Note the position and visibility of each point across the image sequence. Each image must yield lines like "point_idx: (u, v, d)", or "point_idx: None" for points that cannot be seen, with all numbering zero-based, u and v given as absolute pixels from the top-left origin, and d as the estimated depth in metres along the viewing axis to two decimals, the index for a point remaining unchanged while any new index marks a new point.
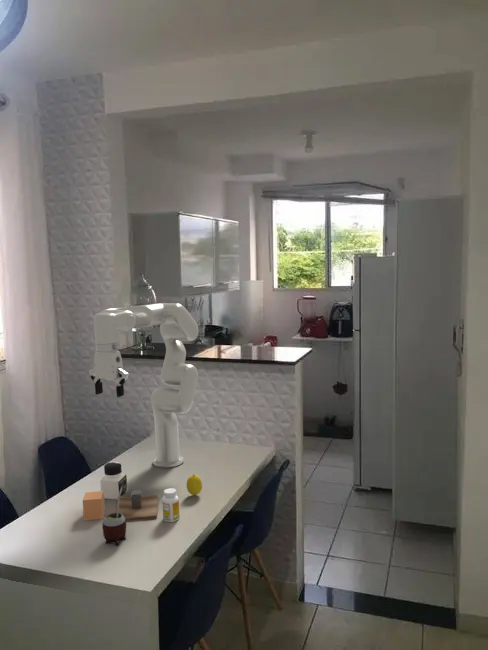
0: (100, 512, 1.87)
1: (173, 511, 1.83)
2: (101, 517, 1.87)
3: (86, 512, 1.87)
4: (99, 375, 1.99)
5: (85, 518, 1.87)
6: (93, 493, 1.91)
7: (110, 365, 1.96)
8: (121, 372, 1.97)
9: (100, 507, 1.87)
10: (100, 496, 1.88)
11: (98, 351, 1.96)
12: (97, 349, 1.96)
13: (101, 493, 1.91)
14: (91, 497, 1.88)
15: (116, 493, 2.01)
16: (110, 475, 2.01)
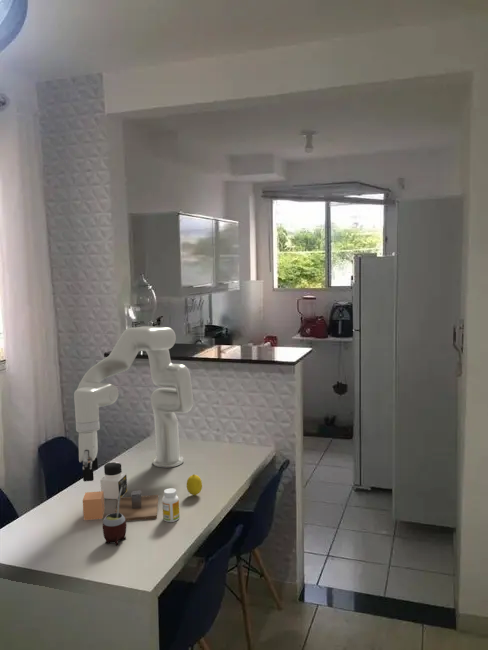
0: (100, 512, 1.87)
1: (173, 511, 1.83)
2: (101, 517, 1.87)
3: (86, 512, 1.87)
4: (95, 455, 1.85)
5: (85, 518, 1.87)
6: (93, 493, 1.91)
7: None
8: None
9: (100, 507, 1.87)
10: (100, 496, 1.88)
11: (99, 427, 1.86)
12: (98, 425, 1.85)
13: (101, 493, 1.91)
14: (91, 497, 1.88)
15: (116, 493, 2.01)
16: (110, 475, 2.01)
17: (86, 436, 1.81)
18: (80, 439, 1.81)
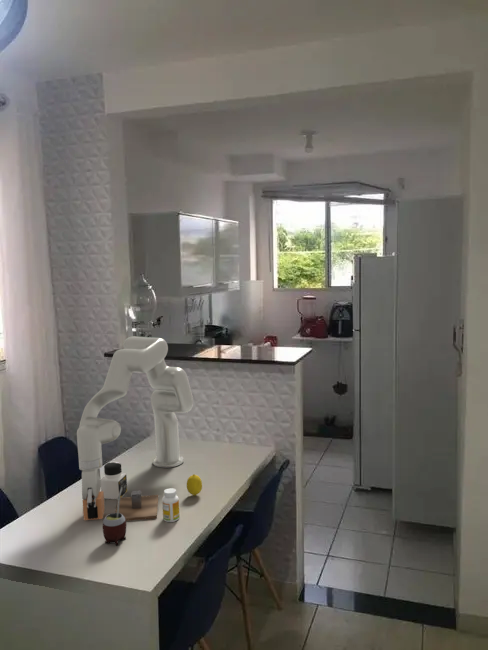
0: (100, 512, 1.87)
1: (173, 511, 1.83)
2: (101, 517, 1.87)
3: (86, 512, 1.87)
4: (98, 492, 1.87)
5: (85, 518, 1.87)
6: None
7: None
8: None
9: (100, 507, 1.87)
10: (100, 496, 1.88)
11: (101, 464, 1.88)
12: (101, 463, 1.87)
13: (101, 493, 1.91)
14: None
15: (116, 493, 2.01)
16: (110, 475, 2.01)
17: (89, 474, 1.83)
18: (83, 477, 1.83)
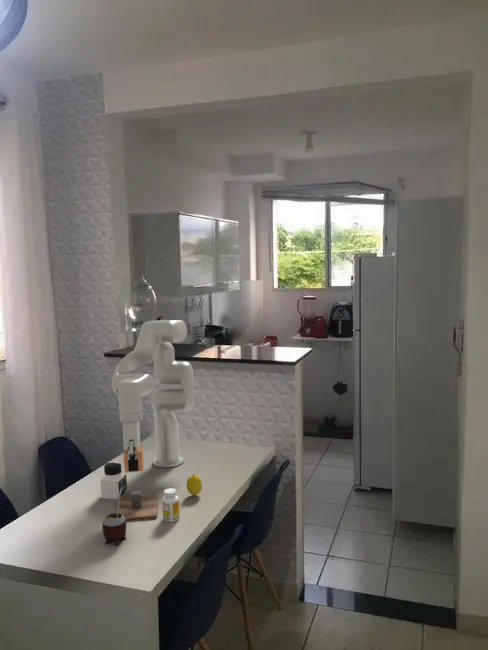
0: (140, 465, 1.89)
1: (173, 511, 1.83)
2: (141, 470, 1.89)
3: (127, 464, 1.88)
4: None
5: (126, 470, 1.88)
6: None
7: None
8: None
9: (141, 460, 1.88)
10: (140, 449, 1.90)
11: (142, 417, 1.89)
12: (141, 415, 1.88)
13: (141, 447, 1.92)
14: None
15: (116, 493, 2.01)
16: (110, 475, 2.01)
17: (131, 426, 1.85)
18: (125, 429, 1.85)
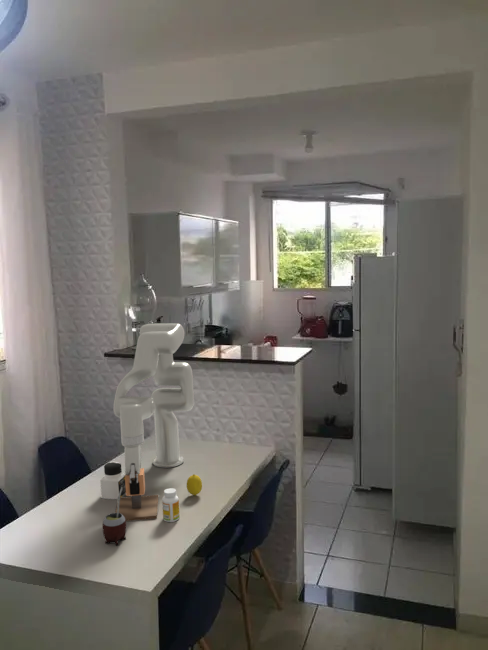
0: (142, 488, 1.90)
1: (173, 511, 1.83)
2: (143, 493, 1.90)
3: (128, 488, 1.89)
4: (140, 468, 1.89)
5: (127, 494, 1.89)
6: None
7: None
8: None
9: (142, 483, 1.89)
10: (142, 472, 1.91)
11: (143, 440, 1.90)
12: (143, 439, 1.90)
13: (142, 470, 1.93)
14: None
15: (116, 493, 2.01)
16: (110, 475, 2.01)
17: (132, 450, 1.86)
18: (126, 453, 1.86)
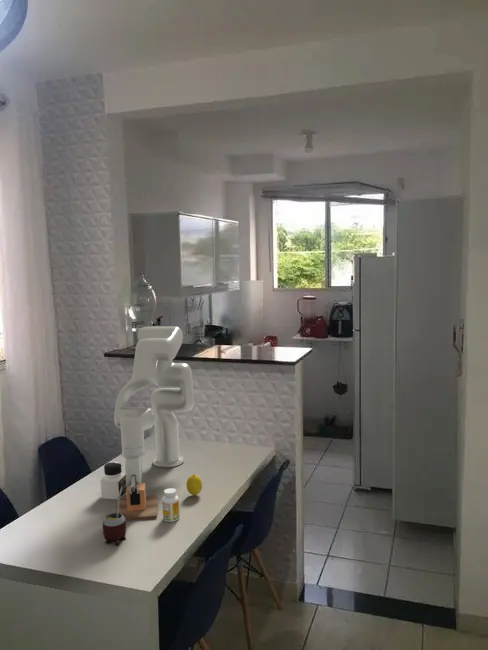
0: (143, 503, 1.91)
1: (173, 511, 1.83)
2: (144, 508, 1.91)
3: (129, 503, 1.90)
4: None
5: (128, 509, 1.90)
6: None
7: None
8: None
9: (143, 498, 1.90)
10: (143, 487, 1.92)
11: (144, 452, 1.91)
12: (143, 450, 1.90)
13: (143, 484, 1.94)
14: None
15: (116, 493, 2.01)
16: (110, 475, 2.01)
17: (133, 461, 1.87)
18: (127, 464, 1.86)
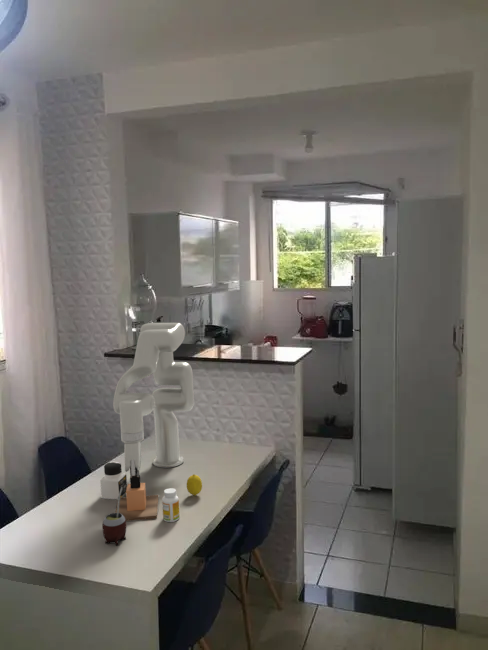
0: (143, 503, 1.91)
1: (173, 511, 1.83)
2: (144, 508, 1.91)
3: (129, 503, 1.90)
4: (140, 464, 1.89)
5: (128, 509, 1.90)
6: None
7: None
8: None
9: (143, 498, 1.90)
10: (143, 487, 1.92)
11: (143, 437, 1.90)
12: (143, 435, 1.89)
13: (143, 484, 1.94)
14: (134, 488, 1.91)
15: (116, 493, 2.01)
16: (110, 475, 2.01)
17: (132, 446, 1.86)
18: (126, 449, 1.86)
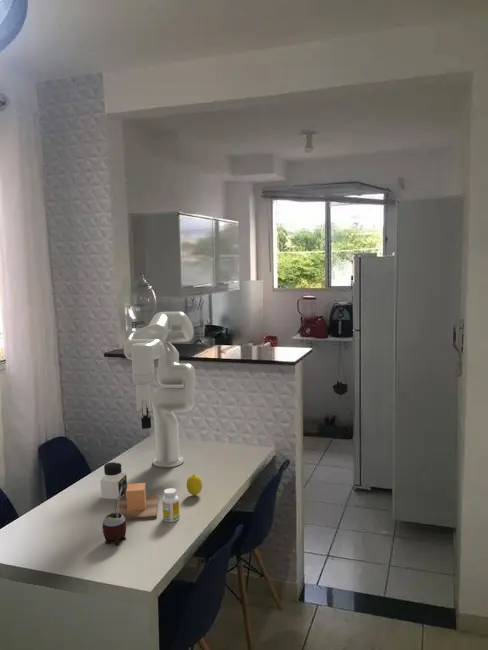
0: (143, 503, 1.91)
1: (173, 511, 1.83)
2: (144, 508, 1.91)
3: (129, 503, 1.90)
4: None
5: (128, 509, 1.90)
6: (135, 485, 1.94)
7: None
8: None
9: (143, 498, 1.90)
10: (143, 487, 1.92)
11: (154, 379, 1.99)
12: (153, 378, 1.98)
13: (143, 484, 1.94)
14: (134, 488, 1.91)
15: (116, 493, 2.01)
16: (110, 475, 2.01)
17: (143, 387, 1.95)
18: (138, 390, 1.95)
